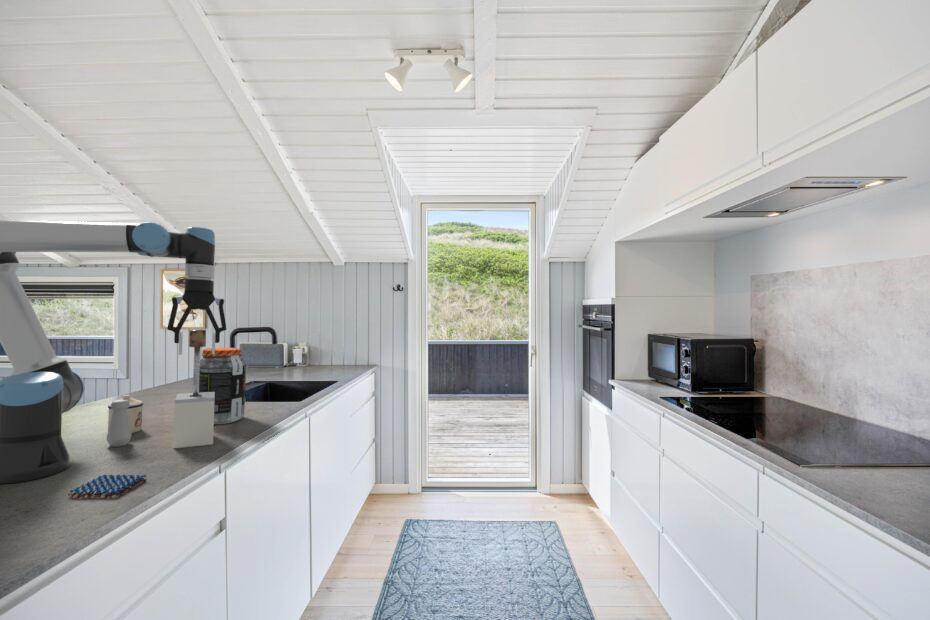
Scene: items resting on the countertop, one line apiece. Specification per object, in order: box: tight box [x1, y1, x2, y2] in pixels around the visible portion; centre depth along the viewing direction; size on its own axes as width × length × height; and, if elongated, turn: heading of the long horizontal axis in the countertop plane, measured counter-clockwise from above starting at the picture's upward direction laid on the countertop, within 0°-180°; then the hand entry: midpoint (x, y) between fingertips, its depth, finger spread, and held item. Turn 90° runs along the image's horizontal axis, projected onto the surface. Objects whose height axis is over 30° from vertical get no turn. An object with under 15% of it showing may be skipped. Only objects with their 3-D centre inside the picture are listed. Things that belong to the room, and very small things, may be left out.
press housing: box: [172, 392, 215, 449], centre depth 134 cm, size 10×10×14 cm
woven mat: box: [67, 474, 147, 500], centre depth 99 cm, size 10×11×2 cm
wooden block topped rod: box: [188, 329, 207, 397], centre depth 134 cm, size 7×7×24 cm
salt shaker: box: [106, 399, 132, 448], centre depth 129 cm, size 6×6×13 cm
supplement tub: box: [199, 347, 247, 425], centre depth 159 cm, size 16×16×26 cm
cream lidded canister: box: [107, 394, 144, 434], centre depth 143 cm, size 12×9×12 cm
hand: (197, 353), depth 134 cm, fingers open, 8 cm apart
